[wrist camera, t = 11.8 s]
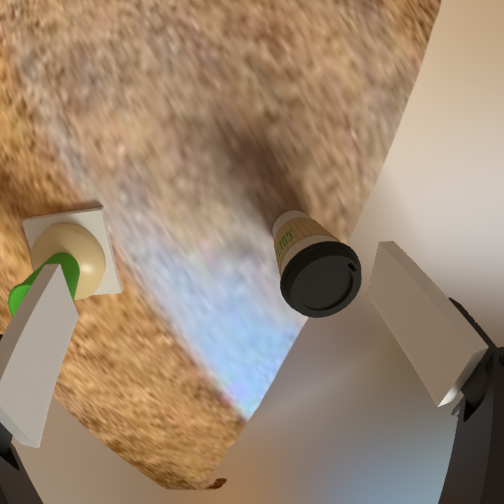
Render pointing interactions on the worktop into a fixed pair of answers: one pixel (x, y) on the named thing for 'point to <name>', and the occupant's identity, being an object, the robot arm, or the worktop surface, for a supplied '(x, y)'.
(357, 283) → the coffee cup
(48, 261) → the cup
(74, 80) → the worktop surface
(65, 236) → the domed square tile
